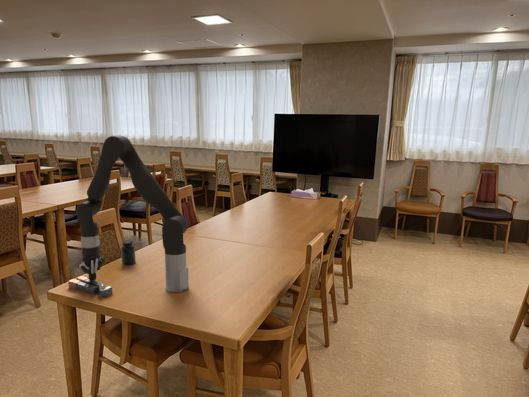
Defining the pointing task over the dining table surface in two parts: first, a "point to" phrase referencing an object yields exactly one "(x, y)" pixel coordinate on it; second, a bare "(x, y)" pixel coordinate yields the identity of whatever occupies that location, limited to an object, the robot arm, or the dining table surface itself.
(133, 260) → the supplement bottle
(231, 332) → the dining table surface
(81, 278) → the tong arm
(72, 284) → the tongs fixed
